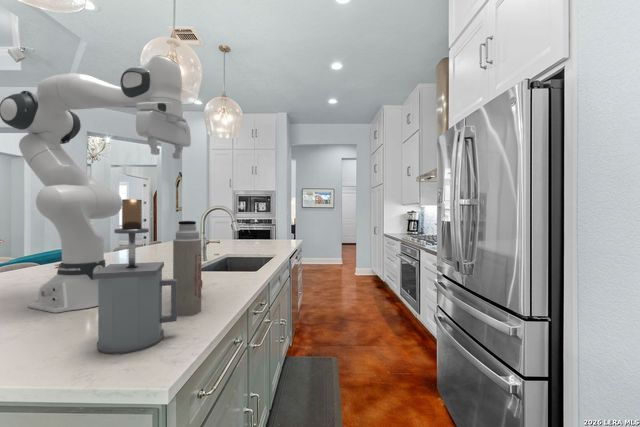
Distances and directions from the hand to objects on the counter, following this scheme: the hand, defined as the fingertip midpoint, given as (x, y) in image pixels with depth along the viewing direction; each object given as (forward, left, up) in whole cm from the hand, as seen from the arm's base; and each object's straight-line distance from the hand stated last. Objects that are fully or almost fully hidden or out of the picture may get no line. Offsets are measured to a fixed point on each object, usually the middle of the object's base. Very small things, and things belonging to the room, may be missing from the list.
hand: (166, 156), depth 97 cm
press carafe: (+9, -21, -48) cm, 53 cm away
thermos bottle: (+7, 0, -48) cm, 49 cm away
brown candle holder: (+7, -22, -33) cm, 40 cm away
